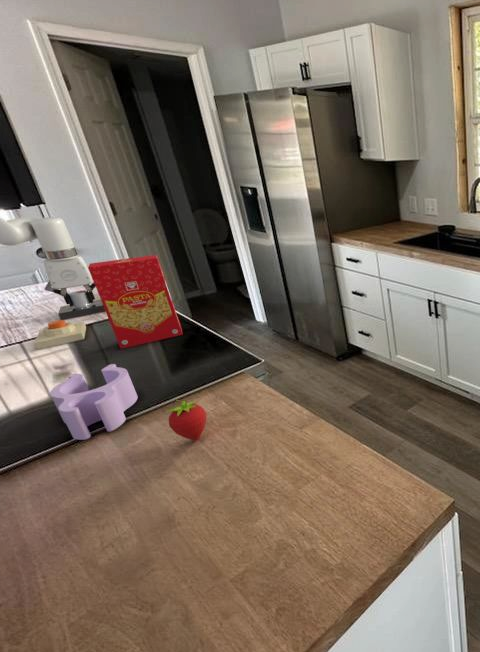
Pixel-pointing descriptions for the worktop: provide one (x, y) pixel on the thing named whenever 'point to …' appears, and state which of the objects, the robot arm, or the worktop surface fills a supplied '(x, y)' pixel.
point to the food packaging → (136, 300)
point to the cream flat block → (60, 335)
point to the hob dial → (79, 299)
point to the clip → (94, 401)
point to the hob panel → (81, 310)
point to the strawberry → (188, 420)
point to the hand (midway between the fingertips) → (82, 303)
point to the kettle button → (56, 324)
